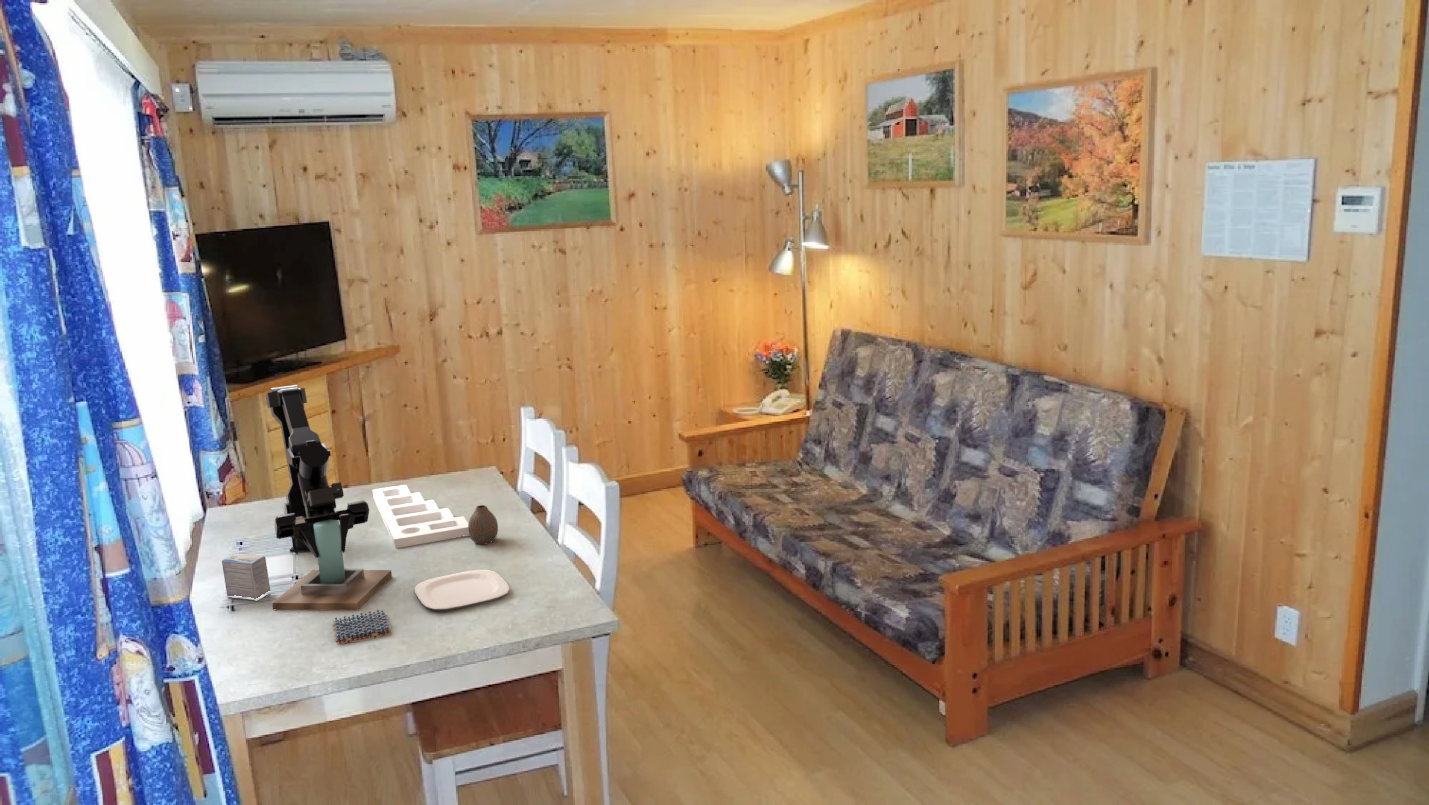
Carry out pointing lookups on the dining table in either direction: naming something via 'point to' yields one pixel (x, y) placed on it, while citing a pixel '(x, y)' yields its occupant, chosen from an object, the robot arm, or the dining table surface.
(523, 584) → the dining table surface
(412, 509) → the holder
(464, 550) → the dining table surface
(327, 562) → the pin
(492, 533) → the vase
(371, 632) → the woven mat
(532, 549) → the dining table surface
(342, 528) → the robot arm
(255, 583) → the medicine box
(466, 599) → the plate
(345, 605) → the board
